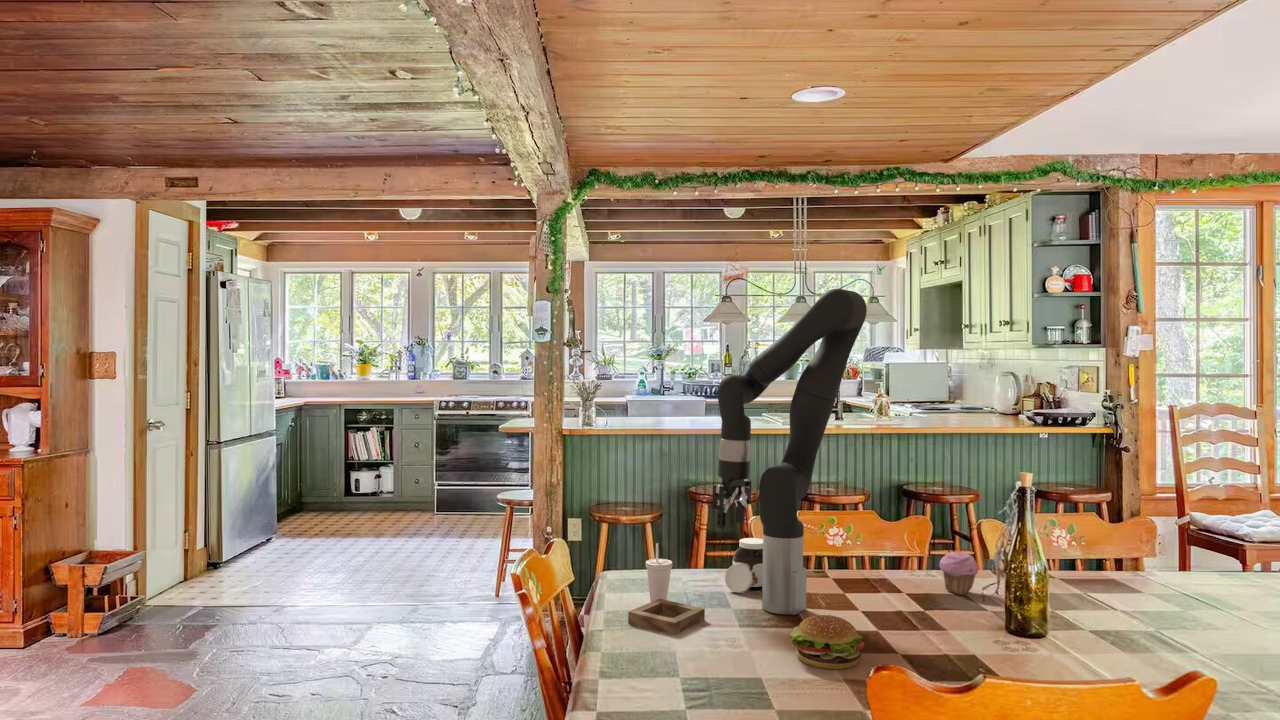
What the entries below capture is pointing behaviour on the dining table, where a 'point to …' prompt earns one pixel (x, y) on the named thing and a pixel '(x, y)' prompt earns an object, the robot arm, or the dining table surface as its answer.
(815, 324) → the robot arm
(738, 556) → the spread jar
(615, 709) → the dining table surface
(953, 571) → the cupcake
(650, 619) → the walnut socket block
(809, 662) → the food
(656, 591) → the smoothie
